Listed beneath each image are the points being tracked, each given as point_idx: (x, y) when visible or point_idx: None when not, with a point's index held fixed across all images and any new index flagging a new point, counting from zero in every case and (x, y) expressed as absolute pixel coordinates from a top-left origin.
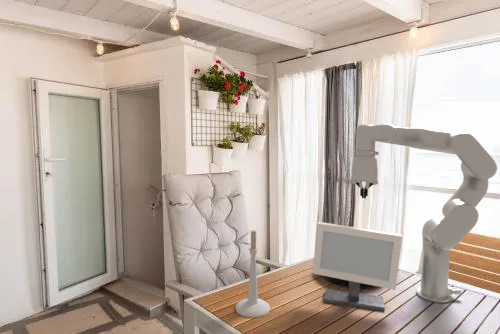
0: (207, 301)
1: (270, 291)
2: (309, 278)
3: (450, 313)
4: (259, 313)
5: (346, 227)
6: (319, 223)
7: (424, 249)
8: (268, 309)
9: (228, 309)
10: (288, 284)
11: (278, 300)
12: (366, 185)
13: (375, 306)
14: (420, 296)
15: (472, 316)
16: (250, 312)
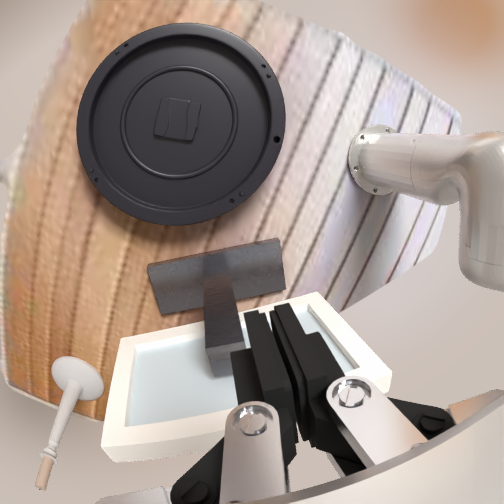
0: (22, 382)
1: (57, 316)
2: (85, 207)
3: (394, 229)
4: (99, 395)
5: (210, 446)
6: (117, 459)
7: (430, 185)
8: (100, 380)
9: (57, 391)
10: (63, 268)
11: (89, 341)
12: (345, 475)
13: (267, 292)
14: (355, 180)
15: (421, 222)
16: (89, 399)
